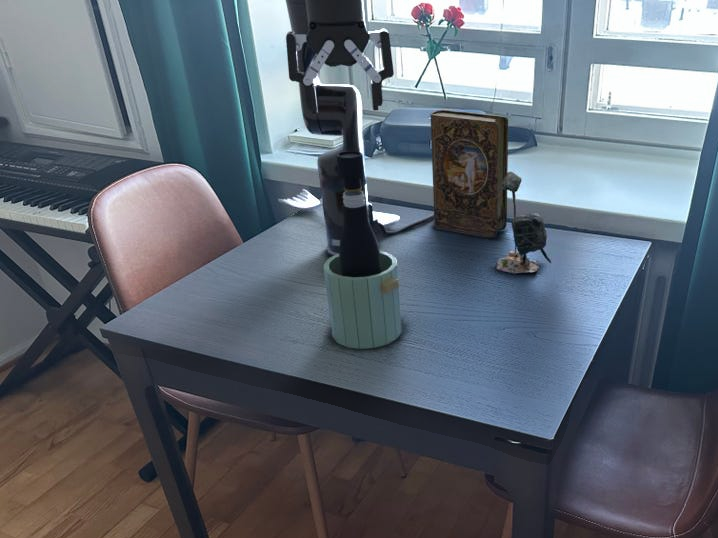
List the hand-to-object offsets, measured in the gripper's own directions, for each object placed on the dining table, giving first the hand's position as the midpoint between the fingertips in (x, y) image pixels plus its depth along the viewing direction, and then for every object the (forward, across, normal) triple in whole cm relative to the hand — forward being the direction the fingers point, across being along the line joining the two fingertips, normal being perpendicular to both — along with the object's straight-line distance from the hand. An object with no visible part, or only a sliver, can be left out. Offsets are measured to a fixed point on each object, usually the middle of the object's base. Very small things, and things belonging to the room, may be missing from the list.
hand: (345, 110), depth 100 cm
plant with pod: (+36, -32, -19) cm, 52 cm away
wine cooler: (+36, 0, 0) cm, 36 cm away
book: (+36, -26, -42) cm, 62 cm away
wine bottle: (+36, 0, 0) cm, 36 cm away
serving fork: (+36, +2, -56) cm, 66 cm away
